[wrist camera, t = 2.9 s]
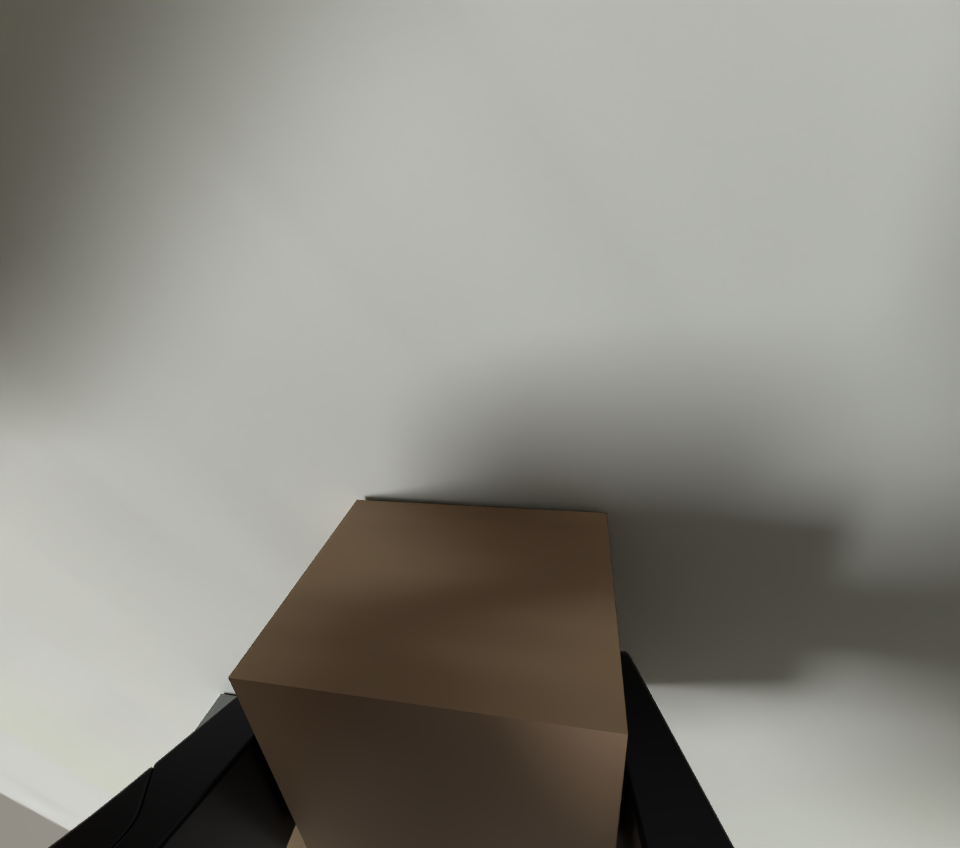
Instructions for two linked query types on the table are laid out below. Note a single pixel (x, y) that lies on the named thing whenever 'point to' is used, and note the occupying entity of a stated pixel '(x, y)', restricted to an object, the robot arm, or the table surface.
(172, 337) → the table surface
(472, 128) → the table surface
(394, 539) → the walnut block
